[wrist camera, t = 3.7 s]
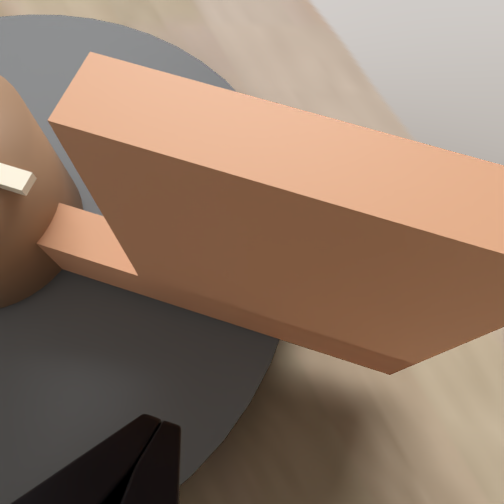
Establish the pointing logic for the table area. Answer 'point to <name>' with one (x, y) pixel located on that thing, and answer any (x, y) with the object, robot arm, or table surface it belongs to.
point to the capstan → (253, 215)
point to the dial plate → (107, 303)
